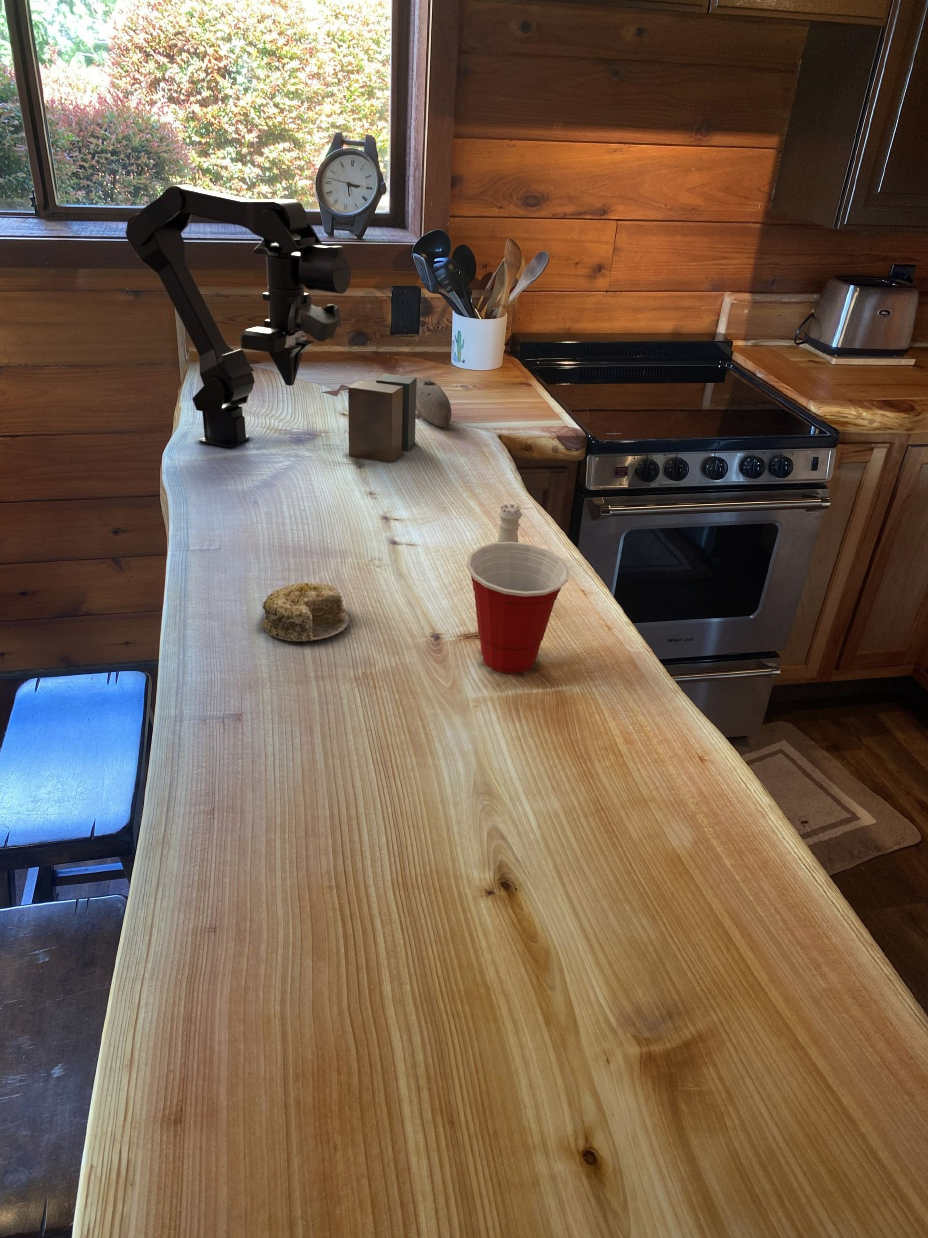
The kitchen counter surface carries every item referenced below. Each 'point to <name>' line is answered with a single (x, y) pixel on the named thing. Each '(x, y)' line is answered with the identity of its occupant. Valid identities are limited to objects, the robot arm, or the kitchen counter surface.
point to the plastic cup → (514, 600)
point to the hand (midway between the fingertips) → (289, 384)
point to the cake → (304, 612)
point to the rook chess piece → (509, 523)
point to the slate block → (405, 405)
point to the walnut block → (375, 420)
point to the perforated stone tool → (432, 403)
